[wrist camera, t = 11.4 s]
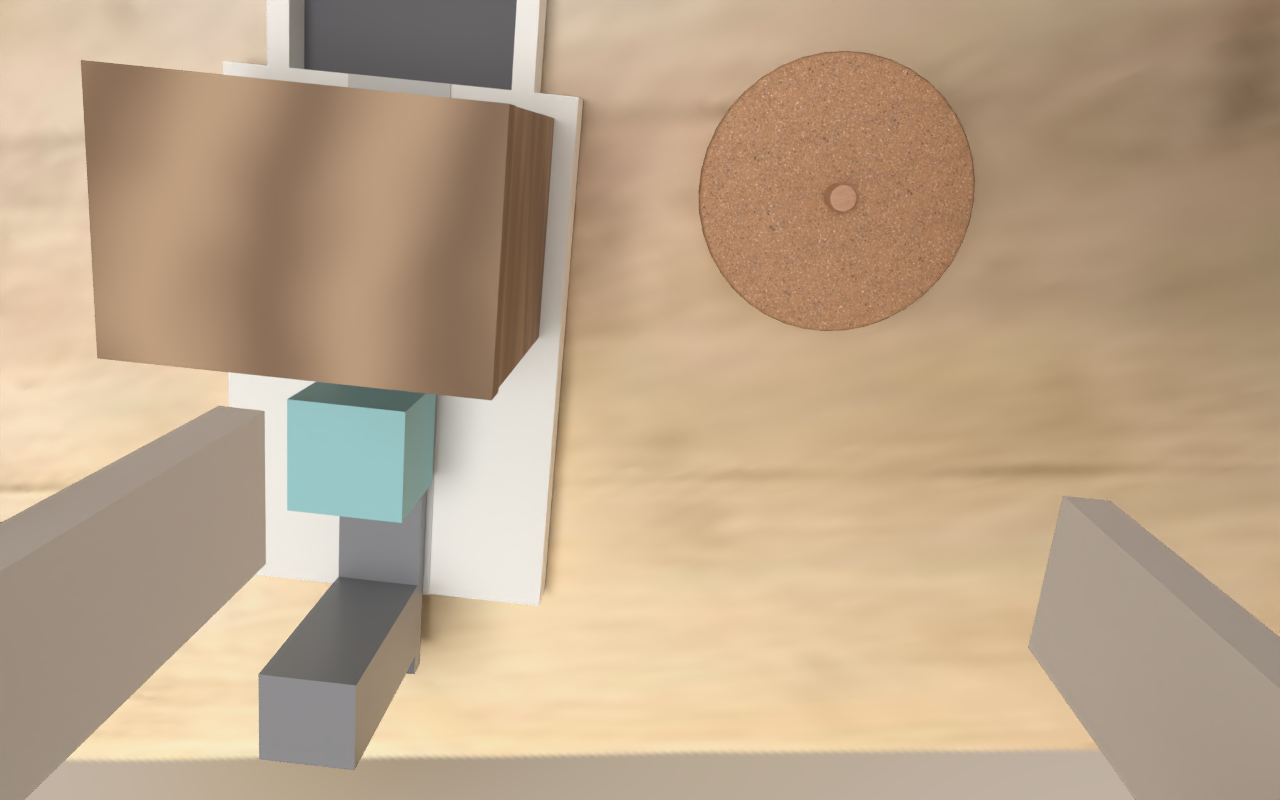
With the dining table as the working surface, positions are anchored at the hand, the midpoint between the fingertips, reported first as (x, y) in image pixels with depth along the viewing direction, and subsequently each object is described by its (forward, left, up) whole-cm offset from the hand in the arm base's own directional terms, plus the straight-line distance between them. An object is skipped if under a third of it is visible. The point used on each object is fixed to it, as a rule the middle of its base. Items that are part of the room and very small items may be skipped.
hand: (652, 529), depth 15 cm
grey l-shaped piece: (+13, +12, -29) cm, 33 cm away
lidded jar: (-6, -5, -31) cm, 32 cm away
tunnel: (+13, -2, -29) cm, 32 cm away
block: (+13, +8, -28) cm, 31 cm away
